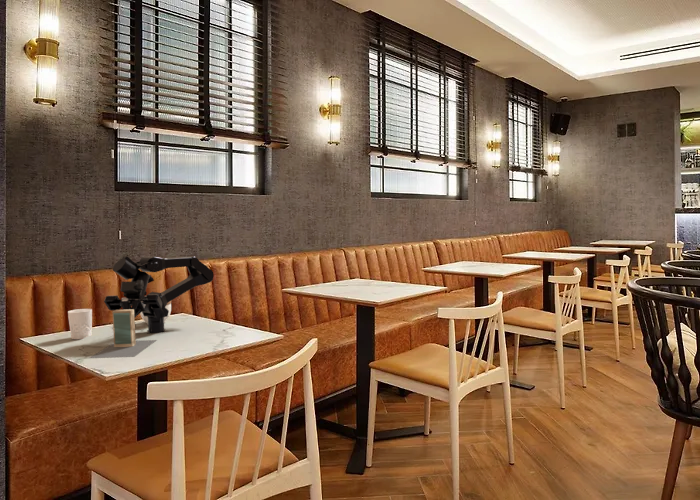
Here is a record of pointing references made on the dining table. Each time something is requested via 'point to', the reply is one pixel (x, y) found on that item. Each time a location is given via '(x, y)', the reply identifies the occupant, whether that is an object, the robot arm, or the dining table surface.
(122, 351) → the rubber mat
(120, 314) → the birch block
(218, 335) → the dining table surface
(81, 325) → the white cup
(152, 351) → the dining table surface
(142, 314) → the lidded bowl
